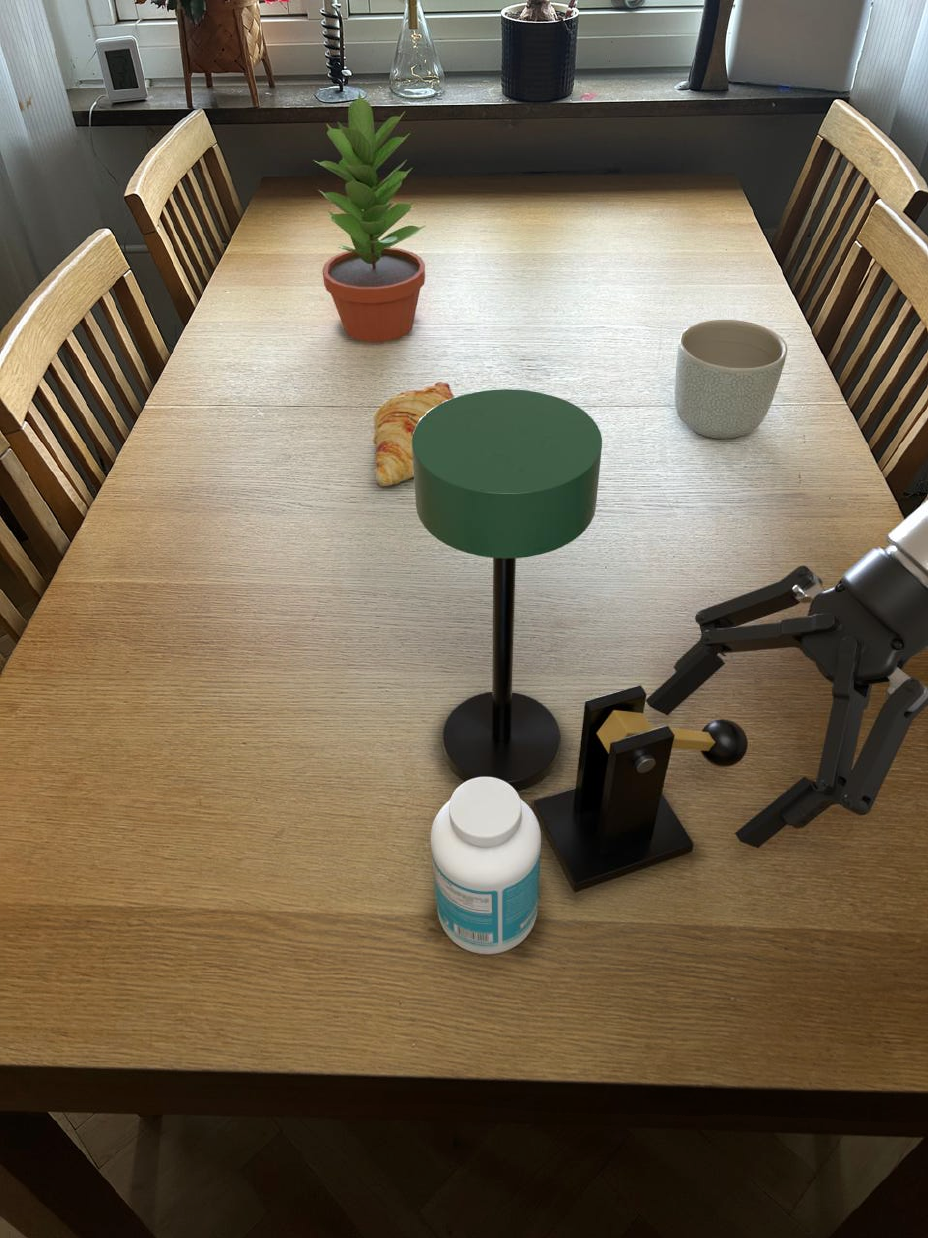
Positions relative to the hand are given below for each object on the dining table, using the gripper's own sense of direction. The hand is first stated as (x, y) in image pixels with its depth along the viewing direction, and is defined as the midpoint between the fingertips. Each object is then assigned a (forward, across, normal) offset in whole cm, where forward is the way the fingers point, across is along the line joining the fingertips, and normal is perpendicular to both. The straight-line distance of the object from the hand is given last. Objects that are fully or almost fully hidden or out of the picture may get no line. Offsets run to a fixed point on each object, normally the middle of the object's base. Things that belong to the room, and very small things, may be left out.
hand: (698, 770), depth 72 cm
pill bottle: (+17, -3, +10) cm, 20 cm away
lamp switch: (0, 0, +5) cm, 5 cm away
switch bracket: (+8, 0, +2) cm, 8 cm away
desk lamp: (+12, +11, +5) cm, 17 cm away
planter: (-19, +49, -26) cm, 59 cm away
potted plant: (+3, +90, -3) cm, 90 cm away
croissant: (+7, +58, 0) cm, 59 cm away
